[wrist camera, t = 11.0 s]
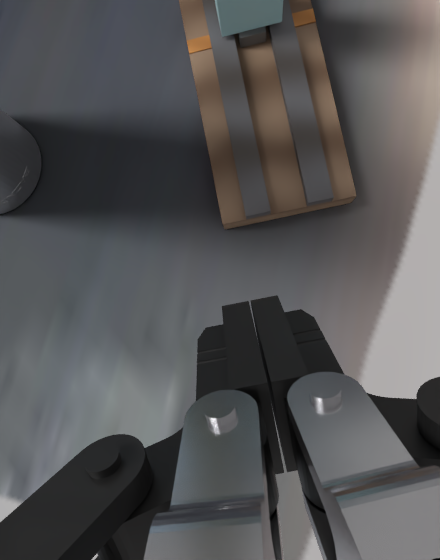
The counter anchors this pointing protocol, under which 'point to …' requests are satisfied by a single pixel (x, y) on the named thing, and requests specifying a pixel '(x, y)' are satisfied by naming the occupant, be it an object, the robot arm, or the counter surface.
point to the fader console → (268, 116)
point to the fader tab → (248, 18)
